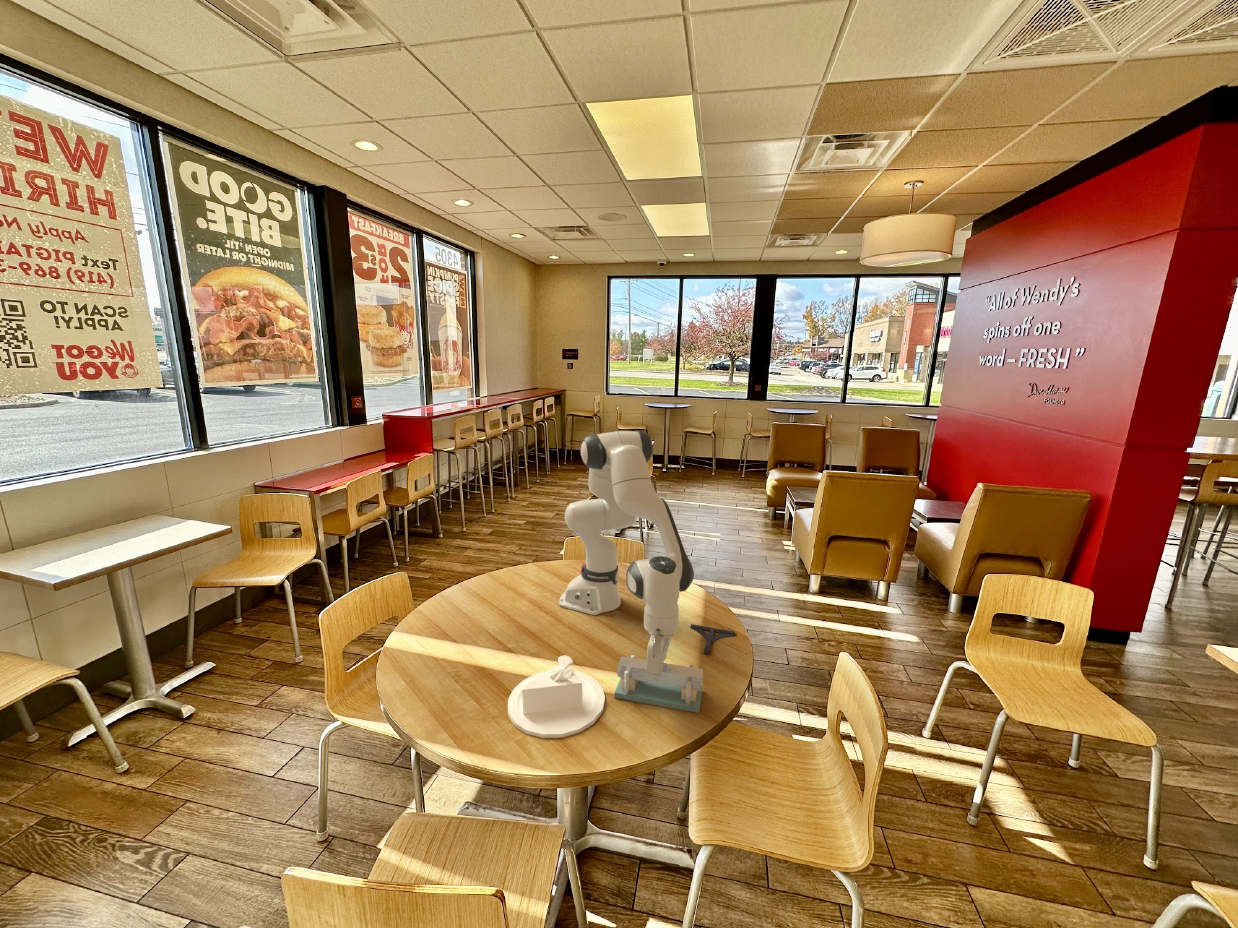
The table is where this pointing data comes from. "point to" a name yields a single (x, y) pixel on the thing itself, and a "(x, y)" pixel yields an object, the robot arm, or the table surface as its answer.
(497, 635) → the table surface
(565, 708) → the dish
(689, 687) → the rack
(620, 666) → the long grey flat plank
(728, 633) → the bracket
